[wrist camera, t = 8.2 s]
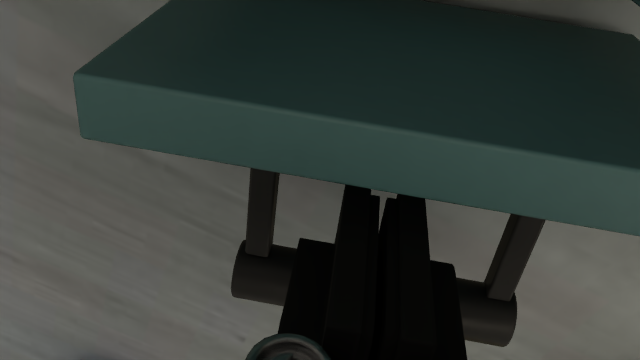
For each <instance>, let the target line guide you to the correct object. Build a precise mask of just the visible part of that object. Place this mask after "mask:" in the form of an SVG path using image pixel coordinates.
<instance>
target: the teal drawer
mask: <svg viewBox="0 0 640 360" xmlns="http://www.w3.org/2000/svg"><path fill="white" fill-rule="evenodd" d="M632 1H633V2H634V3H636V4H637V5H638V6H640V0H632ZM73 81H74V89H75V97H76V104H77V112H78V120H79V128H80V135H81V137H82V138H84V139H90V140H95V141H101V142H107V143H112V144H118V145H124V146H130V147H135V148H141V149H147V150H152V151H158V152H164V153H169V154H175V155H181V156H186V157H192V158H198V159H203V160H209V161H215V162H220V163H226V164H232V165H238V166H243V167H249V168H251V170H250V186H249V201H248V216H247V231H246V240H243V241H242V243H241V245H240V247H239V250H238V253H237V256H236V260H235V264H234V269H233V275H232V283H231V292H232V296H233V297H236V298H242V299H247V300H253V301H258V302H263V303H269V304H274V305H279V306H284V304H285V299H286V295H287V291H288V286H289V282H290V278H291V273H292V269H293V265H294V260H295V256H296V252H297V249H296V248H290V247H285V246H279V245H274V244H273V234H274V224H275V214H276V204H277V194H278V185H279V175H280V173H283V174H289V175H294V176H300V177H306V178H311V179H317V180H323V181H328V182H334V183H340V184H346V185H351V186H357V187H363V188H368V189H374V190H380V191H385V192H391V193H397V194H402V195H408V196H414V197H419V198H425V199H431V200H436V201H442V202H448V203H454V204H459V205H465V206H471V207H476V208H482V209H488V210H493V211H499V212H505V213H510V214H511V215H510V217H509V220H508V222H507V225H506V227H505V230H504V233H503V235H502V238H501V240H500V243H499V245H498V248H497V250H496V253H495V256H494V258H493V261H492V263H491V266H490V268H489V271H488V273H487V276H486V279H485V281H484V282H478V281H472V280H467V279H461V278H456V281H457V288H458V296H459V303H460V310H461V318H462V325H463V333H464V340H468V341H473V342H479V343H484V344H490V345H495V346H500V347H504V346H507V345H508V344H509V342H510V340H511V338H512V336H513V333H514V330H515V325H516V319H517V301H516V296H515V293H514V291H515V289H516V287H517V284H518V282H519V280H520V277H521V275H522V273H523V271H524V268H525V266H526V264H527V261H528V259H529V257H530V255H531V252H532V250H533V248H534V245H535V243H536V241H537V239H538V236H539V234H540V232H541V229H542V227H543V225H544V223H545V220H550V221H556V222H562V223H567V224H573V225H579V226H584V227H590V228H596V229H601V230H607V231H613V232H618V233H624V234H630V235H635V236H640V41H639V40H638V39H637V38H636V37H635V36H633V35H631V34H625V33H619V32H613V31H607V30H600V29H594V28H588V27H582V26H576V25H569V24H563V23H557V22H551V21H545V20H539V19H532V18H526V17H520V16H514V15H508V14H501V13H495V12H489V11H483V10H477V9H471V8H464V7H458V6H452V5H446V4H440V3H433V2H427V1H421V0H170V1H169V2H168V3H166V4H165V5H164V6H162V7H161V8H160V9H158V10H157V11H156V12H154V13H153V14H152V15H150V16H149V17H148V18H146V19H145V20H144V21H142V22H141V23H140V24H139V25H137V26H136V27H135V28H133V29H132V30H131V31H129V32H128V33H127V34H125V35H124V36H123V37H121V38H120V39H119V40H117V41H116V42H115V43H113V44H112V45H111V46H109V47H108V48H107V49H105V50H104V51H103V52H101V53H100V54H99V55H97V56H96V57H95V58H93V59H92V60H91V61H89V62H88V63H87V64H85V65H84V66H83V67H81V68H80V69H79V70H77V71H76V72H75V73H74V76H73Z"/></svg>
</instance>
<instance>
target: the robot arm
mask: <svg viewBox="0 0 640 360" xmlns="http://www.w3.org/2000/svg"><path fill="white" fill-rule="evenodd" d="M379 207H380V196H375V195H371V189H368V188H363V187H357V186H351V185H346V184H345V189H344V194H343V200H342V205H341V211H340V216H339V222H338V228H337V233H336V239H335V244H332V243H327V242H321V241H315V240H309V239H303V238H300V239H299V243H298V247H297V252H296V256H295V260H294V265H293V269H292V273H291V278H290V282H289V286H288V291H287V295H286V299H285V304H284V308H283V312H282V317H281V321H280V325H279V330H278V334H275V335H272V336H270V337H267V338H264V339H263V340H261V341H260V342H258V343H257V344H256V345H254V347H253V348H252V349H251V351H250V352H249V354H248V355H247V357H246V359H245V360H467V355H466V347H465V340H464V333H463V325H462V318H461V310H460V303H459V296H458V288H457V281H456V274H455V269H454V266H453V265H452V264H449V263H443V262H437V261H432V260H430V253H429V240H428V228H427V216H426V203H425V198H419V197H414V196H408V195H402V194H398V195H397V198H396V199H393V198H387V200H386V204H385V208H384V212H383V217H382V221H381V225H380V229H379ZM378 232H379V234H378Z"/></svg>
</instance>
